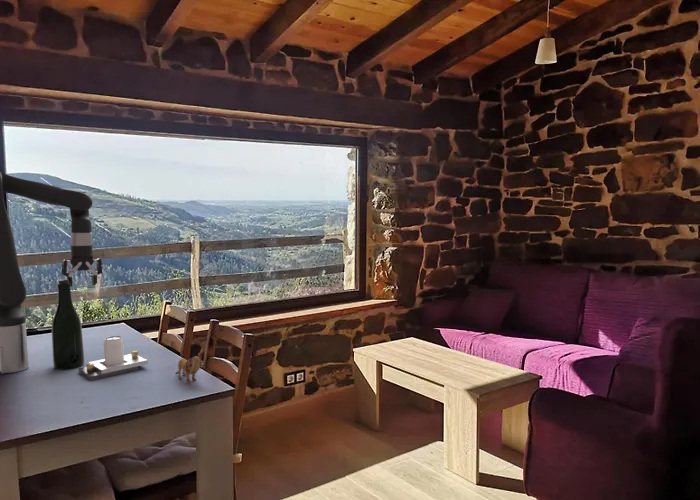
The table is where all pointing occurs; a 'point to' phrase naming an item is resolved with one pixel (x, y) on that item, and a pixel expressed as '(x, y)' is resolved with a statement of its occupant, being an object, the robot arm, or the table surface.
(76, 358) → the green wine bottle
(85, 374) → the lower link
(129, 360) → the upper link
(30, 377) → the table surface
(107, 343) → the can
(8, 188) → the robot arm
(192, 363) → the lion figurine
